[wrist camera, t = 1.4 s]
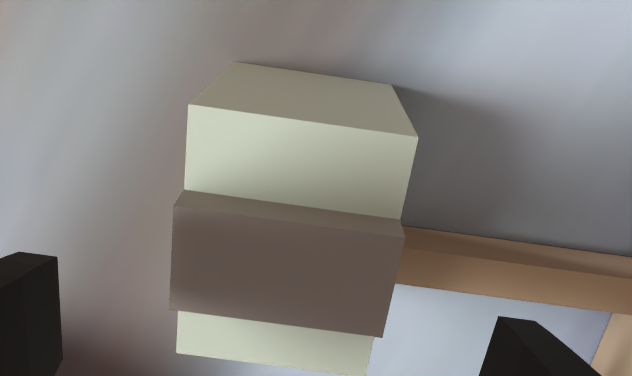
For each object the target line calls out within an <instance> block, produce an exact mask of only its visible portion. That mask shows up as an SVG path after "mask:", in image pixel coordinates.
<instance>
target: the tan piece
mask: <svg viewBox="0 0 632 376" xmlns="http://www.w3.org/2000/svg"><path fill="white" fill-rule="evenodd" d="M402 227H403V231H404V235H405V241H404V245H403V250H402V254H401V258H400V263H399V267H398V272H397V276H396V280H395V283H397V284H404V285H411V286H419V287H426V288H434V289H441V290H448V291H456V292H463V293H471V294H478V295H485V296H493V297H500V298H508V299H515V300H522V301H530V302H537V303H544V304H552V305H559V306H567V307H574V308H581V309H589V310H596V311H604V312H611V313H613V314H612V316H611V319H610V321H609V323H608V326H607V328H606V330H605V333H604V335H603V337H602V340H601V342H600V345H599V347H598V349H597V352H596V354H595V356H594V359H593V361H592V363H591V367H592V368H593V369H594V370H596V371H597V372H598V373H599V374H600V375H601V376H632V257H625V256H617V255H610V254H603V253H596V252H589V251H581V250H574V249H567V248H560V247H552V246H545V245H538V244H531V243H524V242H516V241H509V240H502V239H495V238H487V237H480V236H473V235H466V234H459V233H451V232H444V231H437V230H430V229H422V228H415V227H408V226H402Z"/></svg>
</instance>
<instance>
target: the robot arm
mask: <svg viewBox="0 0 632 376" xmlns="http://www.w3.org/2000/svg"><path fill="white" fill-rule="evenodd" d="M62 359H63V356H62V337H61V318H60V299H59V280H58V261H57V257H55V256H47V255H40V254H32V253H25V252H17V253H14V254H11V255H8V256H5V257H3V258H0V376H54V375H55V373H56V371H57V369H58V367H59V365H60V363H61V361H62ZM479 376H601V375H600V374H599V373H598V372H597V371H596V370H594V369H593V368H592V367H591V366H590V365H589V364H587V363H586V362H585V361H584V360H583V359H582V358H580V357H579V356H578V355H577V354H576V353H575V352H573V351H572V350H571V349H570V348H569V347H567V346H566V345H565V344H564V343H563V342H561V341H560V340H559V339H558V338H557V337H555V336H554V335H553V334H552V333H550V332H549V331H548V330H547V329H545V328H544V327H542V326H541V325H540V324H538V323H537V322H536V321H531V320H524V319H516V318H509V317H501V316H498V319H497V322H496V325H495V328H494V331H493V334H492V337H491V340H490V343H489V346H488V349H487V352H486V355H485V358H484V362H483V365H482V368H481V371H480V374H479Z"/></svg>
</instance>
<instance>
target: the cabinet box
mask: <svg viewBox="0 0 632 376" xmlns="http://www.w3.org/2000/svg"><path fill="white" fill-rule="evenodd" d="M418 138H419V137H418V135H417V133H416V131H415V129H414V127H413V125H412V123H411V122H410V120H409V118H408V116H407V114H406V112H405V110H404V108H403V106H402V104H401V102H400V101H399V99H398V97H397V95H396V93H395V91H394V89H393V87H392V85H390V84H383V83H376V82H370V81H363V80H356V79H349V78H342V77H335V76H329V75H322V74H315V73H308V72H301V71H294V70H287V69H281V68H274V67H267V66H260V65H253V64H246V63H240V62H233V63H232V64H231V65H230V66H228V67H227V68H226V69H225V70H224V71H223V72H222V73H221V74H220V75H219V76H218V77H217V78H216V79H215V80H214V81H213V82H211V83H210V84H209V85H208V86H207V87H206V88H205V89H204V90H203V91H202V92H201V93H200V94H199V95H198V96H197V97H196V98H194V99H193V100H192V101H191V102H190V103H189V104H188V124H187V144H186V164H185V184H184V191H183V192H182V194H181V195H180V197H179V198H178V200H177V201H176V203H175V204H174V207H173V231H172V255H171V279H170V303H169V310H176V311H178V325H177V345H176V353H180V354H188V355H196V356H203V357H211V358H219V359H227V360H234V361H242V362H250V363H257V364H265V365H273V366H280V367H288V368H296V369H303V370H311V371H319V372H327V373H334V374H342V375H350V376H366V371H367V367H368V362H369V358H370V353H371V349H372V344H373V340H374V337H380V338H382V337H383V332H384V328H385V324H386V319H387V315H388V311H389V306H390V302H391V298H392V293H393V289H394V285H395V280H396V276H397V272H398V267H399V263H400V258H401V254H402V250H403V245H404V241H405V235H404V231H403V227H402V224H401V220H400V219H401V214H402V210H403V205H404V201H405V197H406V192H407V188H408V183H409V179H410V174H411V170H412V165H413V161H414V156H415V152H416V147H417V143H418Z"/></svg>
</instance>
